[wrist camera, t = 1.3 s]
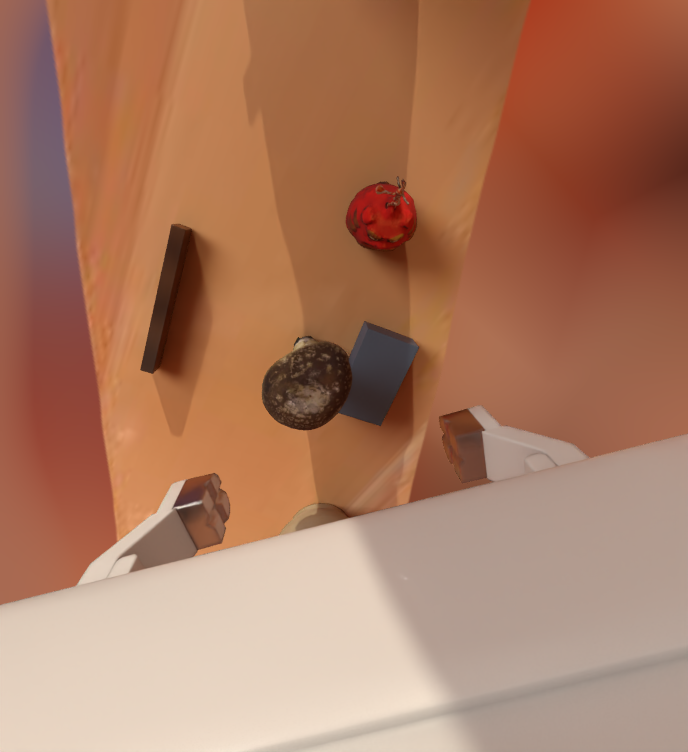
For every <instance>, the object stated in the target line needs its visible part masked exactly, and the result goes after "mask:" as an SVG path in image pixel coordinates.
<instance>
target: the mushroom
mask: <svg viewBox="0 0 688 752" xmlns="http://www.w3.org/2000/svg"><path fill="white" fill-rule="evenodd" d="M351 386H352V371H351V367H350V363H349V358H348V355H347V354H346V352H345V351H344V350H343V349H342V348H341V347H339V346H338V345H336V344H333V343H330V342H318V341H316V340H314V339H313V338H312V337H310V336H306V337H302V338H299V337H298V338H297V340H296V342H295V343H294V348H293V351H292V352H291V353H289V354H287V355H286V356H284V357H283V358H281V359H280V360H278V361H277V362H276V363H274V364H273V365H272V366H271V367H270V369H269V370H268V371H267V373H266V375H265V377H264V380H263V384H262V400H263V404H264V406H265V408H266V409H267V411H268V412H269V414H270V415H271V416H272V417H273V418H274V419H275V420H276V421H278V422H279V423H280V424H283V425H285V426H288V427H290V428H293V429H298V430H312V429H316V428H318V427H321V426H323V425H324V424H326V423H328V422H329V421H330V420H331V419H332V418H333V417H334V416H335V415H337V414H338V412H339V411H340V410H341V408H342V407H343V405H344V403H345V402H346V400H347V398H348V395H349V392H350V390H351Z"/></svg>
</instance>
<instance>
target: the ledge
mask: <svg viewBox="0 0 688 752" xmlns="http://www.w3.org/2000/svg"><path fill="white" fill-rule="evenodd" d="M191 232H192V229H191V228H189V227H186V226H184V225H181V224H172V225H171V230H170V235H169V239H168V244H167V249H166V253H165V258H164V262H163V267H162V272H161V276H160V281H159V286H158V290H157V295H156V300H155V304H154V309H153V314H152V318H151V323H150V328H149V332H148V337H147V341H146V346H145V351H144V355H143V360H142V365H141V369H140V370H142V371H145V372H148V373H152V374H153V373H154V372H155V371H156V370H157V369H158V368H159V367H160V364H161V360H162V356H163V351H164V347H165V343H166V339H167V334H168V330H169V326H170V322H171V317H172V313H173V309H174V304H175V300H176V296H177V292H178V287H179V283H180V279H181V275H182V270H183V266H184V262H185V258H186V253H187V249H188V245H189V240H190V236H191Z"/></svg>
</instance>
